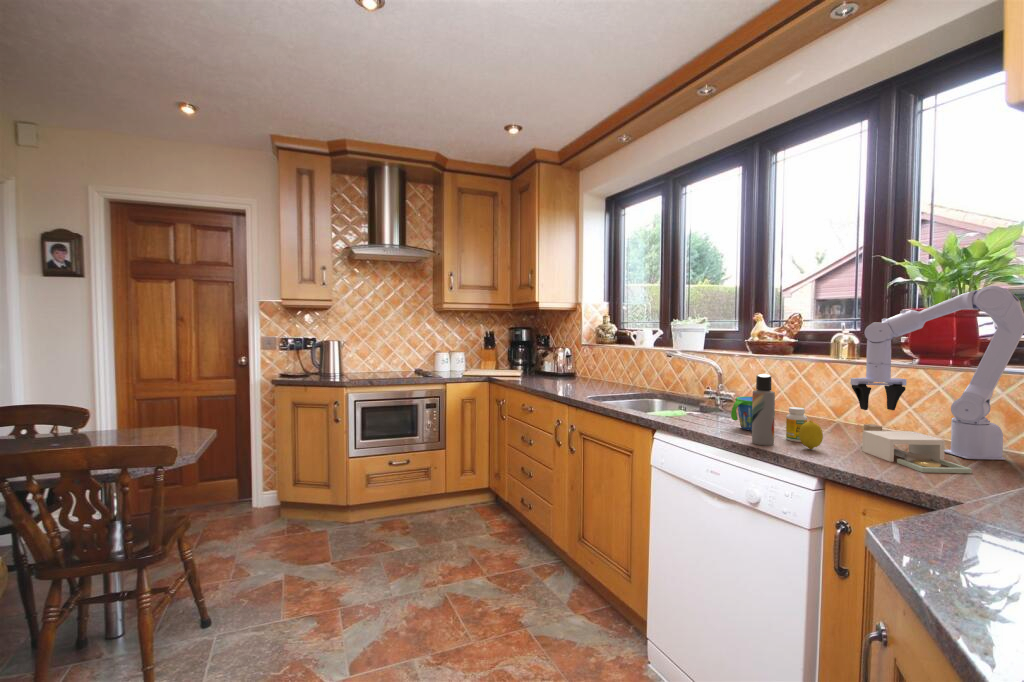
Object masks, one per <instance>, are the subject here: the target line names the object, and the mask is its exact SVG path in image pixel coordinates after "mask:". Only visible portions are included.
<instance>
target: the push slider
mask: <svg viewBox="0 0 1024 682" xmlns="http://www.w3.org/2000/svg"><path fill="white" fill-rule="evenodd" d="M863 431H883V426H881V425H879V424H876V423H875V424H874V423H873V424H871V423H868V424H867V423H866V424H865V423H863ZM894 456H897V457H900V458H901V459H904V460H905V461H908V462H911V463H914V460H916V459H921V460H930V461H931V459H930V455H929V454H913V453H910V452H907V451H904V450H901V449H898V448H895V447H894Z"/></svg>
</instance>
